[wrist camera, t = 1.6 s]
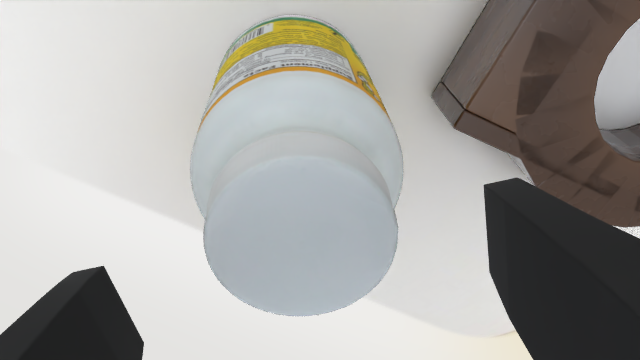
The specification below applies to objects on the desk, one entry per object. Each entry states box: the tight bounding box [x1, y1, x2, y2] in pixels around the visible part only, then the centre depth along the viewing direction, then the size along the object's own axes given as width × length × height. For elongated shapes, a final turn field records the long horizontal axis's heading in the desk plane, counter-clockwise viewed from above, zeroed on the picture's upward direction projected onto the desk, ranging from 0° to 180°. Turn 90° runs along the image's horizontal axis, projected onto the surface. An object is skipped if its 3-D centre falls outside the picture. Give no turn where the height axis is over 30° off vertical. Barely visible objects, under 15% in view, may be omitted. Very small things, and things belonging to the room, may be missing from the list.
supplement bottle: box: [190, 15, 403, 316], centre depth 15 cm, size 5×5×10 cm
